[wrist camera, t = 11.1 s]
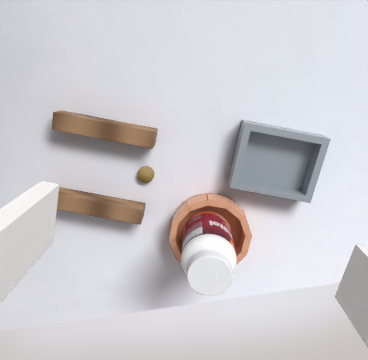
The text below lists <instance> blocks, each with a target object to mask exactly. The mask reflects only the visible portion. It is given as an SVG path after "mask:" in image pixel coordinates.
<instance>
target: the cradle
mask: <svg viewBox="0 0 368 360" xmlns="http://www.w3.org/2000/svg"><path fill="white" fill-rule="evenodd" d="M52 130H57V131H63V132H68V133H73V134H79V135H84V136H89V137H95V138H100V139H105V140H110V141H116V142H121V143H126V144H132V145H137V146H142V147H147V148H153V147H154V145H155V142H156V135H157V129H156V128H151V127H145V126H140V125H135V124H130V123H124V122H119V121H114V120H109V119H103V118H98V117H93V116H88V115H82V114H77V113H72V112H66V111H57V112H53V123H52ZM153 177H154V171H153V170H152V169H151V168H150V167H147V166H145V167H142V168H141V169H140V170H139V172H138V178H139V180H140V181H142V182H144V183H148V182H150V181H151V180H152V179H153ZM57 209H58V210H63V211H69V212H74V213H80V214H85V215H91V216H96V217H101V218H107V219H112V220H118V221H123V222H129V223H134V224H141V222H142V219H143V216H144V209H145V203H142V202H136V201H131V200H126V199H120V198H115V197H109V196H104V195H99V194H93V193H88V192H82V191H77V190H72V189H66V188H61V187H59V194H58V203H57Z"/></svg>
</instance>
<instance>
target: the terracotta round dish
mask: <svg viewBox="0 0 368 360" xmlns="http://www.w3.org/2000/svg"><path fill="white" fill-rule="evenodd" d="M201 211H213V212H216V213H218V214H220V215H222V216H223V217H224V218H225V219H226V220H227V222H228V224H229V226H230V230H231V234H232V239H233V243H234V248H235V252H236V258H237V264H238V263H239V262H240V261H241V260H242V259H243V258H244V257H245V256H246V254H247V252H248V248H249V245H250V241H251V237H252V236H251V232H250V228H249V225H248V222H247V219H246V216H245V214H244V211H243V209H241V208H240V207H239V206H238V205H237V204H236V203H235V202H234V201H233V200H231V199H230V198H228V197H226V196H223V195H220V194H214V193H205V194H200V195H196V196H194V197H191V198H190V199H187V200H186V201H185V202H184V203H183V204H182V205H181V206H180V207H179V208H178V209H177V211H176V212H175V213H174V215H173V219H172V225H171V230H170V235H169V243H170V245H171V248H172V250H173V253H174V255H175V258H176V259H177V260H178V261H180V262H181V255H182V245H183V234H184V228H185V225H186V223H187V221H188V220H189V218H190V217H191V216H193V215H194V214H196V213H198V212H201ZM237 264H236V265H237Z"/></svg>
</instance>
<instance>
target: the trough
mask: <svg viewBox="0 0 368 360" xmlns="http://www.w3.org/2000/svg"><path fill="white" fill-rule="evenodd" d="M329 142H330V139H329V138H327V137H325V136H323V135H318V134H313V133H308V132H302V131H297V130H292V129H287V128H282V127H276V126H271V125H266V124H261V123H256V122H250V121H245V120H242V124H241V128H240V132H239V136H238V141H237V145H236V149H235V153H234V158H233V162H232V166H231V170H230V175H229V179H228V184H229V187H230V188H233V189H238V190H244V191H249V192H254V193H260V194H265V195H270V196H276V197H281V198H286V199H292V200H297V201H302V202H308V203H310V202H311V199H312V196H313V193H314V190H315V186H316V183H317V180H318V177H319V174H320V171H321V167H322V164H323V161H324V158H325V155H326V152H327V148H328V145H329Z"/></svg>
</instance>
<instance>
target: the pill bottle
mask: <svg viewBox="0 0 368 360" xmlns="http://www.w3.org/2000/svg"><path fill="white" fill-rule="evenodd" d="M181 264H182V268H183V271H184V273H185V274H186V276H187V280H188V283H189V285H190V286H191V288H192V289H193V290H194V291H196V292H197V293H199V294H202V295H207V296H212V295H217V294H220V293H222V292H224V291H225V290H226V289H227V288H228V287H229V286H230V284H231V282H232V277H233V273H234V271H235V268H236V264H237V258H236V252H235V248H234V243H233V239H232V234H231V230H230V226H229V224H228V222H227V220H226V219H225V218H224V217H223V216H222V215H220V214H218V213H216V212H213V211H201V212H198V213H196V214H194V215H193V216H191V217H190V218H189V220H188V221H187V223H186V225H185V228H184V234H183V245H182V255H181Z"/></svg>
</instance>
